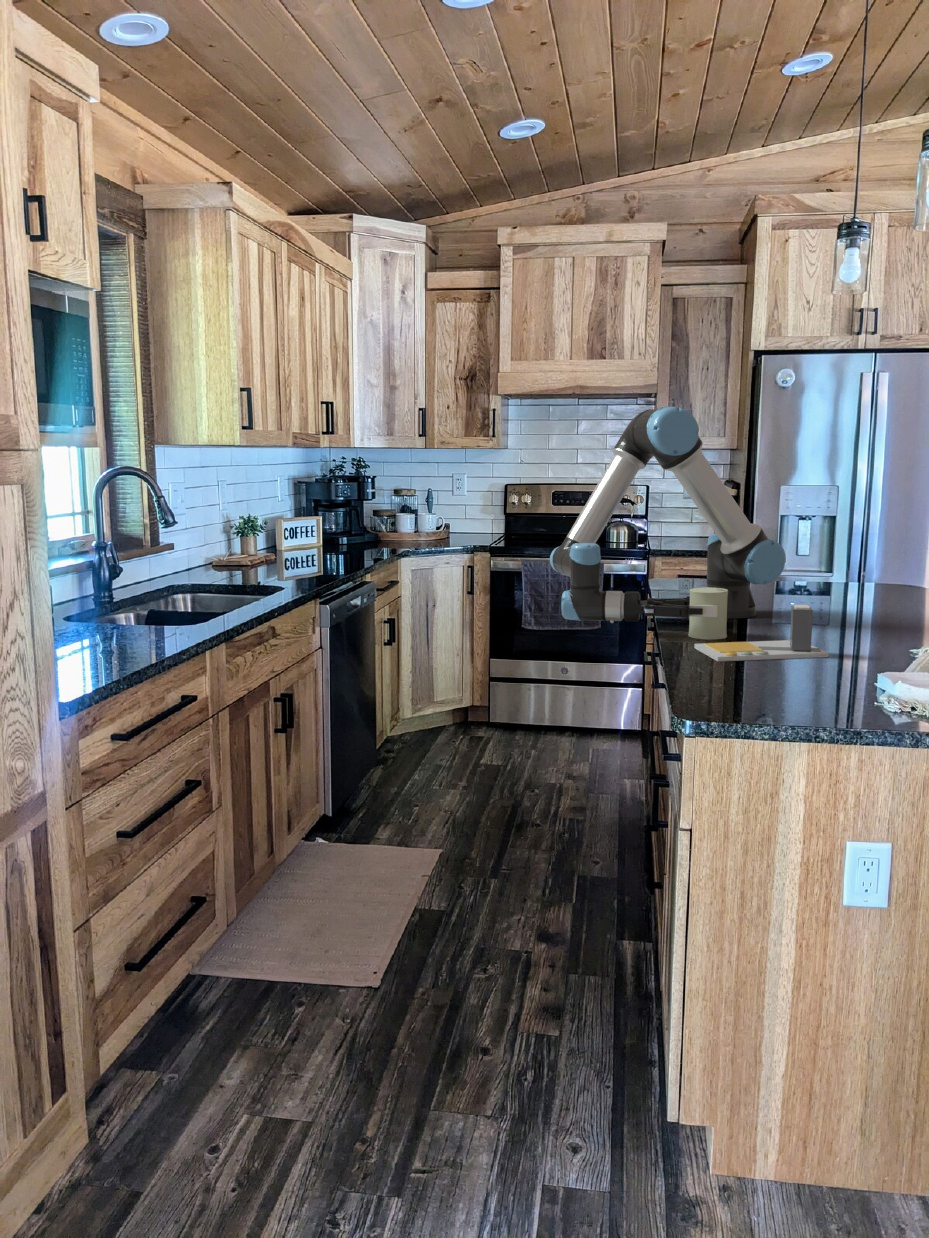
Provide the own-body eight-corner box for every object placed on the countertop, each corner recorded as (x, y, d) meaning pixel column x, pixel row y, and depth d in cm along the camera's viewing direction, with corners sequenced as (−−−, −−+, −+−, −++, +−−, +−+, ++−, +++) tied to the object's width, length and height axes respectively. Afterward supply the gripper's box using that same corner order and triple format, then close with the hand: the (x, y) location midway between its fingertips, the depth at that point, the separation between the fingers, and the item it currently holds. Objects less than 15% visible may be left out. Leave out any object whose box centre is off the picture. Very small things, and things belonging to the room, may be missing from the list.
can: (728, 640, 227) (729, 590, 225) (688, 639, 229) (689, 590, 227) (725, 633, 236) (727, 585, 234) (687, 632, 238) (688, 585, 236)
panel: (798, 643, 221) (798, 638, 221) (828, 656, 206) (829, 650, 206) (694, 648, 219) (694, 642, 219) (717, 661, 204) (717, 655, 204)
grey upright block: (808, 646, 212) (810, 604, 210) (810, 650, 207) (812, 608, 206) (789, 645, 213) (791, 604, 211) (791, 650, 208) (793, 607, 207)
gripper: (627, 614, 248) (716, 616, 242) (619, 628, 227) (716, 631, 221) (627, 585, 246) (717, 587, 241) (620, 597, 226) (717, 599, 220)
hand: (717, 608), depth 231 cm, fingers closed on can, 9 cm apart
